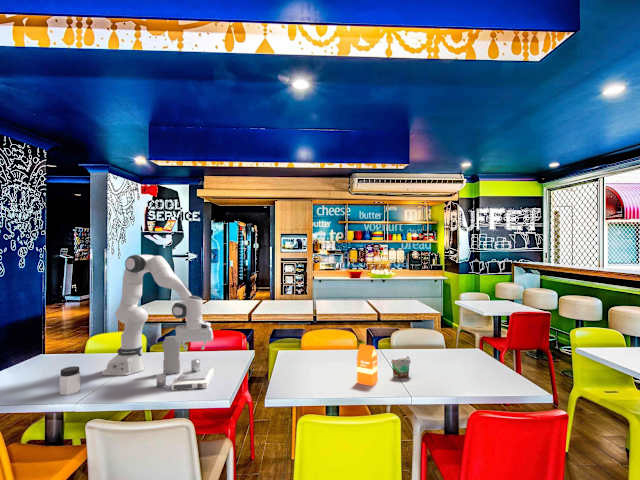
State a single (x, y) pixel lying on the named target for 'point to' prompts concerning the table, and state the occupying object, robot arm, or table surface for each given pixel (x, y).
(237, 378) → the table surface
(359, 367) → the orange juice
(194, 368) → the cylinder
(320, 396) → the table surface
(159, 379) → the cylinder
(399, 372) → the food container
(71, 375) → the jar
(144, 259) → the robot arm
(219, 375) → the table surface
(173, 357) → the tall pale column
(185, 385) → the white rimmed tray
